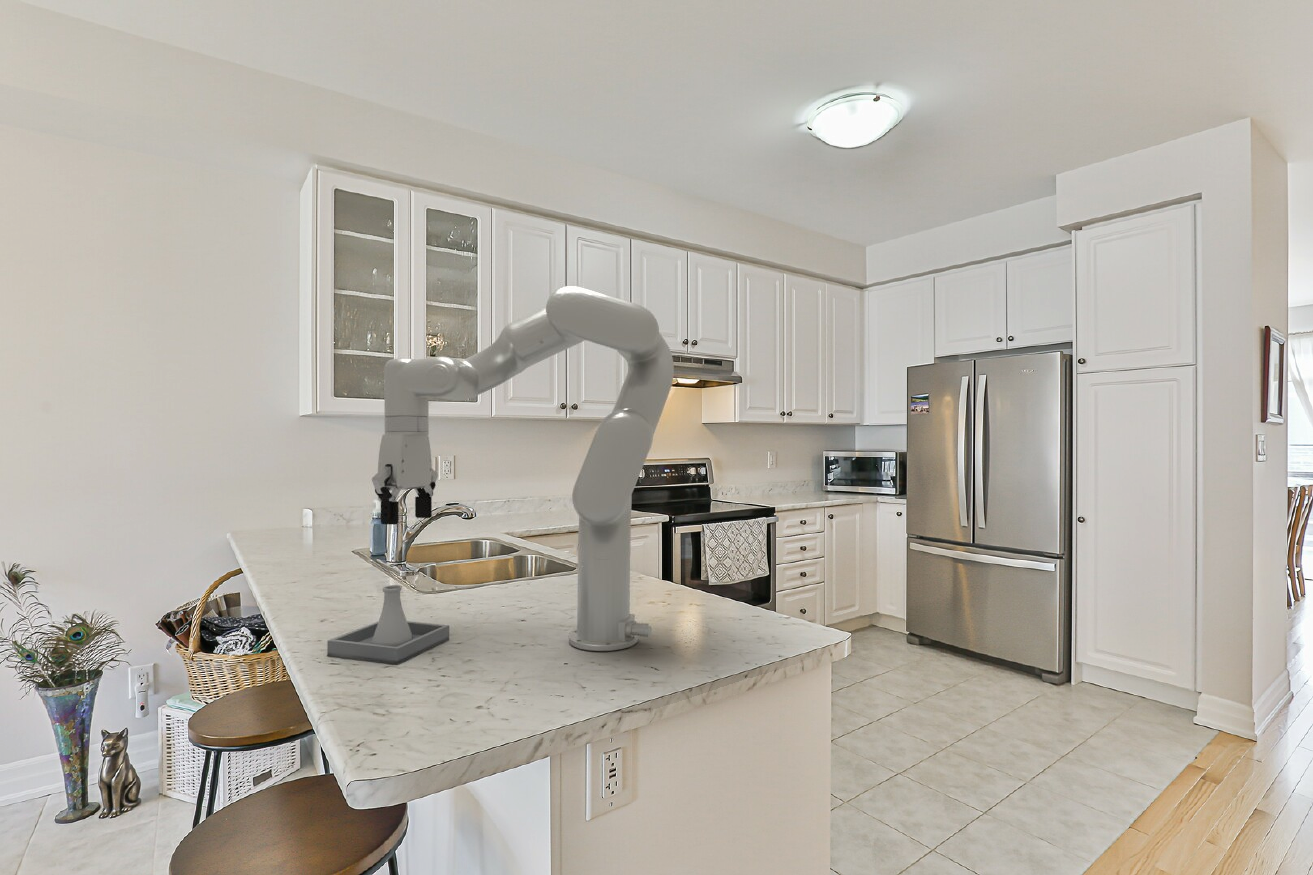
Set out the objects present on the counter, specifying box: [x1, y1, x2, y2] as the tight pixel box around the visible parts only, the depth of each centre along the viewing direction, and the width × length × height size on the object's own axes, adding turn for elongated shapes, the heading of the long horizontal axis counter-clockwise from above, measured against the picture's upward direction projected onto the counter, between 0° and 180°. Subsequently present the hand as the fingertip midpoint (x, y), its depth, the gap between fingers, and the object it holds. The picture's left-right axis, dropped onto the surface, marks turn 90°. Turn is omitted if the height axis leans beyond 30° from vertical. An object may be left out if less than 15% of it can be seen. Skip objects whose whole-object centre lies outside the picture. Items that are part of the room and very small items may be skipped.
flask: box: [371, 584, 413, 647], centre depth 114 cm, size 7×7×10 cm
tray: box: [326, 620, 450, 666], centre depth 113 cm, size 14×14×3 cm
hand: (407, 520), depth 118 cm, fingers open, 9 cm apart
